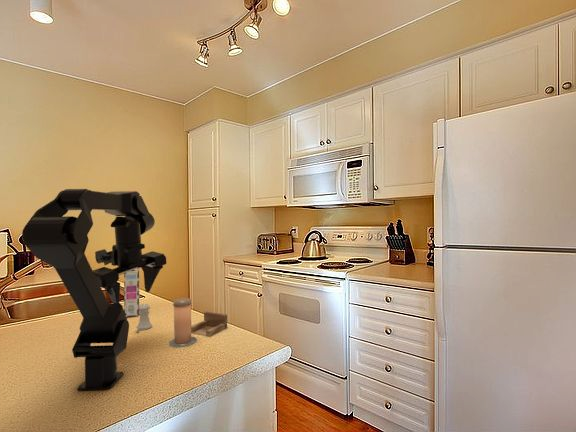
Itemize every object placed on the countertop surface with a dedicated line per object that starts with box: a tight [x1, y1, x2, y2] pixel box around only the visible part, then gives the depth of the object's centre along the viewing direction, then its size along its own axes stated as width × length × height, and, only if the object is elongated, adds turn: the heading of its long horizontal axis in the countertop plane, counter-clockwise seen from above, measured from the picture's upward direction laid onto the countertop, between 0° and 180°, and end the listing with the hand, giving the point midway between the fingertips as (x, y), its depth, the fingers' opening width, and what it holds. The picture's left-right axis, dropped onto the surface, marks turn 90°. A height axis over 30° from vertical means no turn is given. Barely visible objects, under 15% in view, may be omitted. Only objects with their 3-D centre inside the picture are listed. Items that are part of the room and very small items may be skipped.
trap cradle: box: [191, 311, 228, 338], centre depth 96 cm, size 8×8×5 cm
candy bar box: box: [123, 268, 140, 318], centre depth 118 cm, size 11×5×16 cm, turn 25°
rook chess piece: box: [136, 303, 153, 334], centre depth 99 cm, size 4×4×8 cm
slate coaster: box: [169, 336, 198, 348], centre depth 87 cm, size 7×7×1 cm
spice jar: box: [172, 297, 192, 344], centre depth 87 cm, size 5×5×11 cm
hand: (132, 298), depth 84 cm, fingers open, 9 cm apart
